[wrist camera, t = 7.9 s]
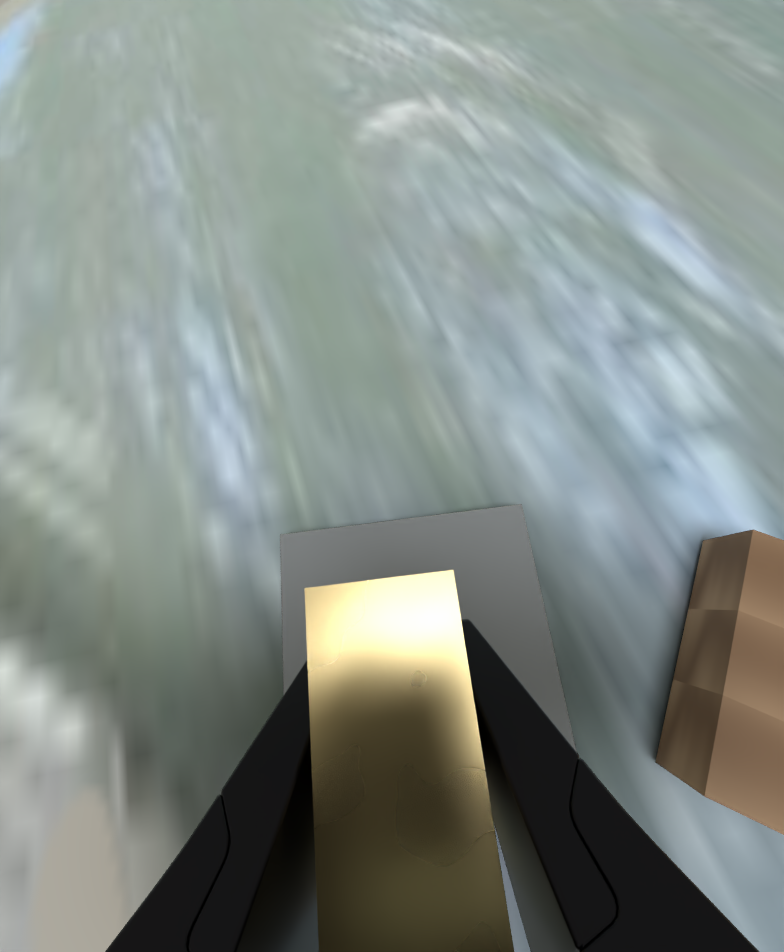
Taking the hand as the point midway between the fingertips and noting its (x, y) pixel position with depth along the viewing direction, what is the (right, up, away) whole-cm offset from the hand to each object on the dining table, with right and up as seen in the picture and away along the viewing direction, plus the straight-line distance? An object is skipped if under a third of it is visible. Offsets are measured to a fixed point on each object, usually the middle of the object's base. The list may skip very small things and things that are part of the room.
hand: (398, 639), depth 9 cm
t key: (+1, -3, +6) cm, 7 cm away
